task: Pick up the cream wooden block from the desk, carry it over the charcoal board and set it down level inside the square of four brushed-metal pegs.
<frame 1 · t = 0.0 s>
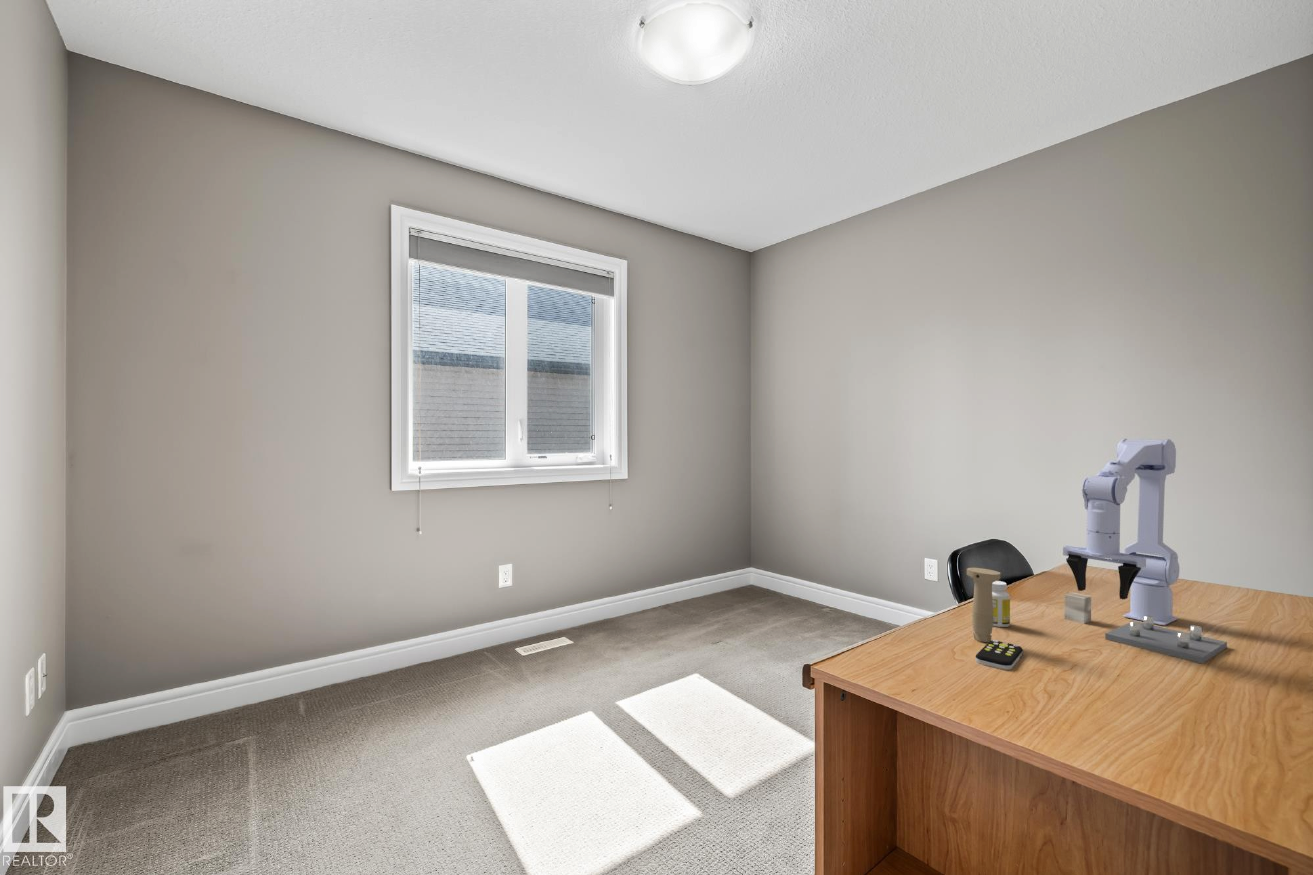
hand: (1102, 594, 126), 10 cm above the table, tool pointing down, fingers open, 7 cm apart
handle: (982, 641, 126), on the table
supplement bottle: (996, 624, 137), on the table
peg board: (1164, 643, 125), on the table
cream block: (1077, 620, 141), on the table
remote control: (999, 660, 116), on the table
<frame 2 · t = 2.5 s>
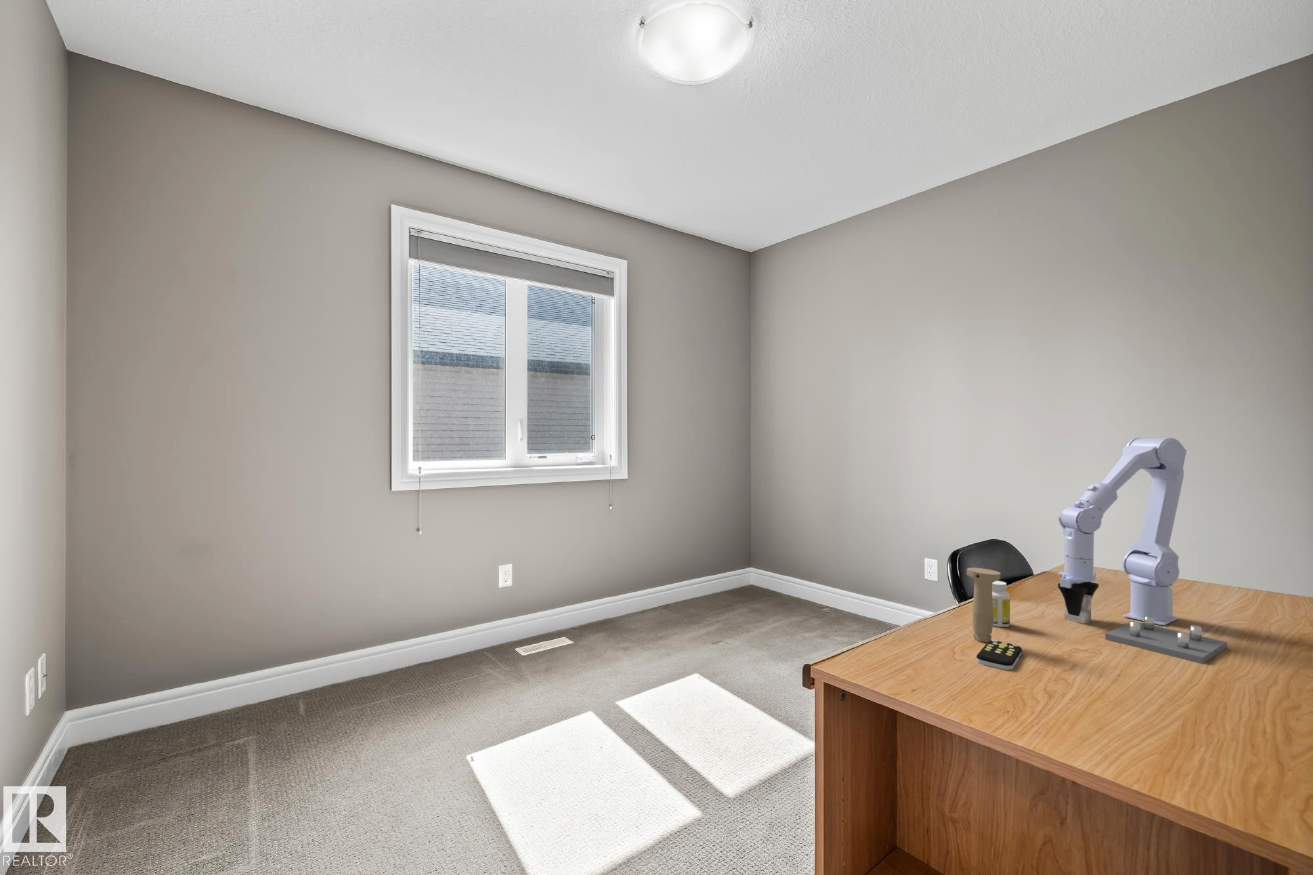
hand: (1077, 613, 141), 2 cm above the table, tool pointing down, fingers closed on cream block, 4 cm apart
cream block: (1077, 620, 141), on the table, touching gripper
everything else where it was.
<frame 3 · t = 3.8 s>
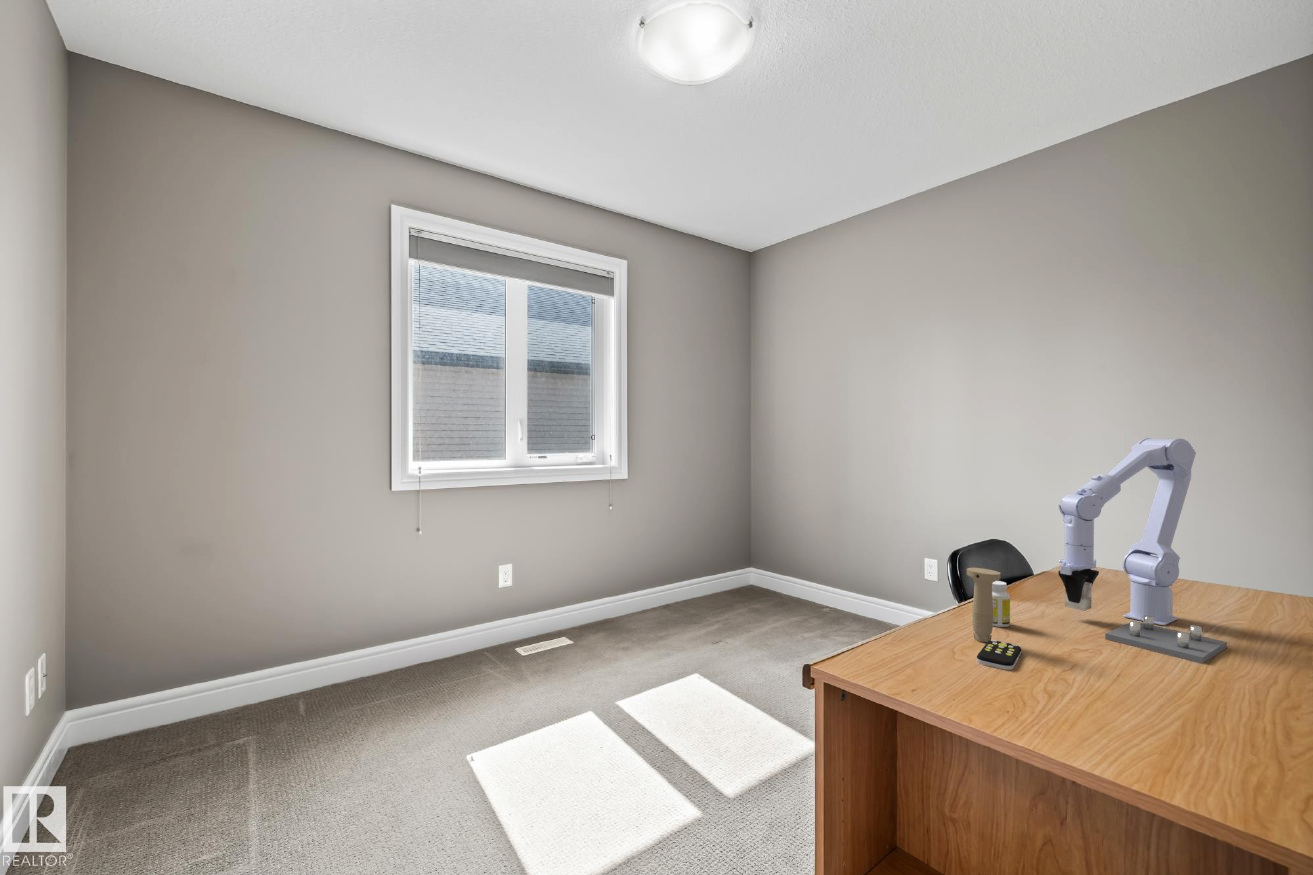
hand: (1078, 600, 141), 5 cm above the table, tool pointing down, fingers closed on cream block, 4 cm apart
cream block: (1078, 607, 141), point 3 cm above the table, touching gripper
everything else where it was.
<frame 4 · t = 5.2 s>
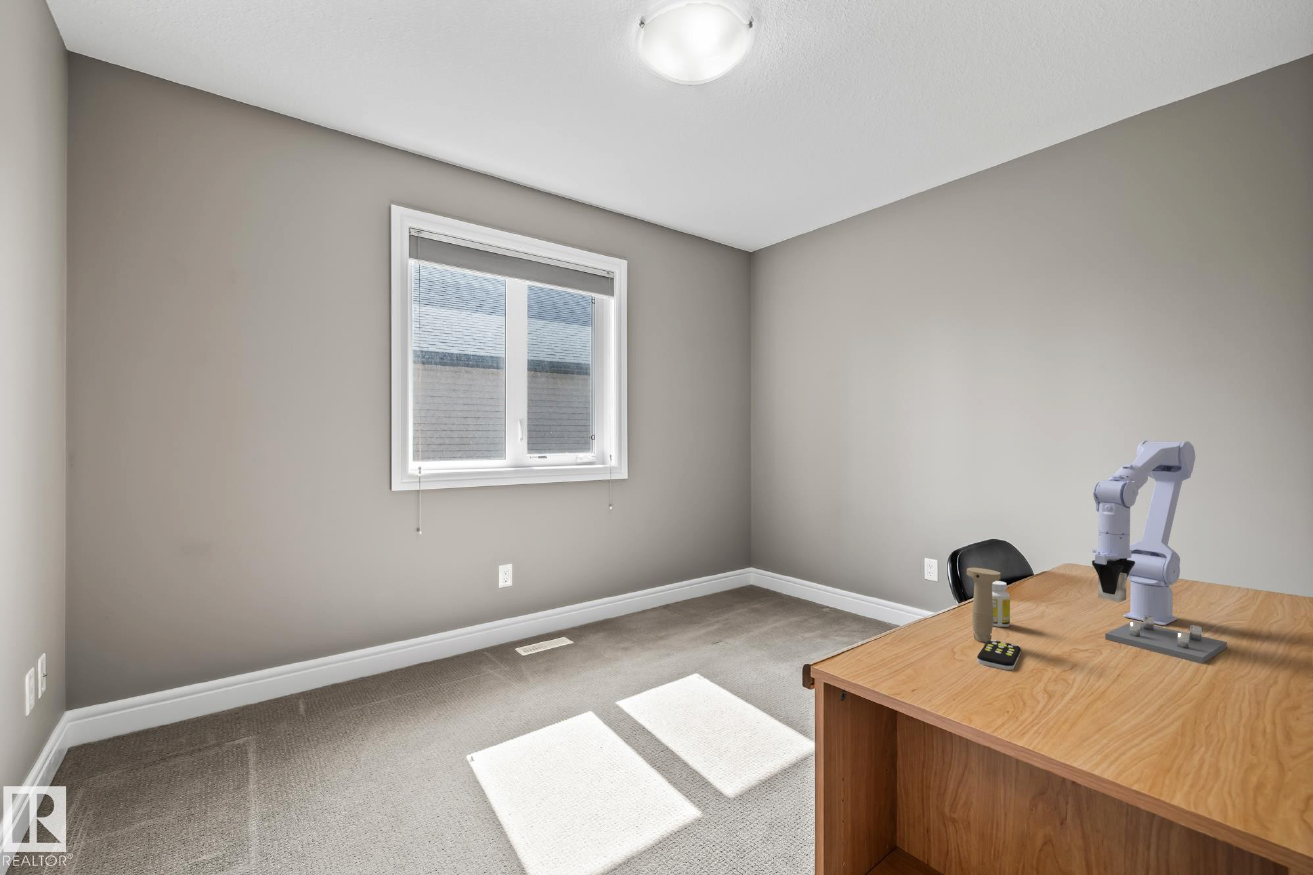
hand: (1113, 591, 134), 9 cm above the table, tool pointing down, fingers closed on cream block, 4 cm apart
cream block: (1112, 598, 134), point 7 cm above the table, touching gripper
everything else where it was.
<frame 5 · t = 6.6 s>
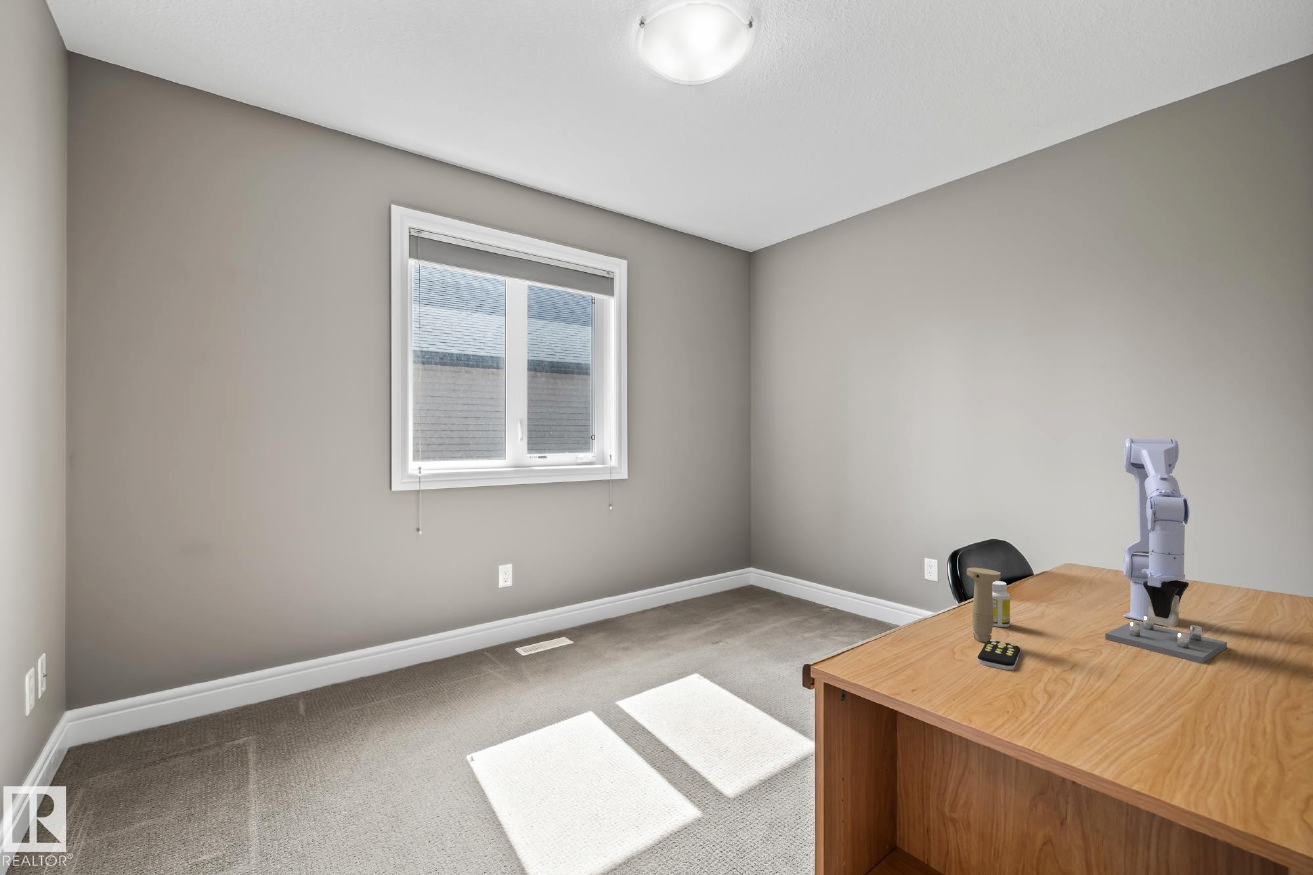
hand: (1165, 615, 125), 6 cm above the table, tool pointing down, fingers closed on cream block, 4 cm apart
cream block: (1163, 622, 125), point 4 cm above the table, touching gripper
everything else where it was.
when the fingers open (4 cm above the table, at t = 7.8 s): cream block drops 1 cm, resting on peg board.
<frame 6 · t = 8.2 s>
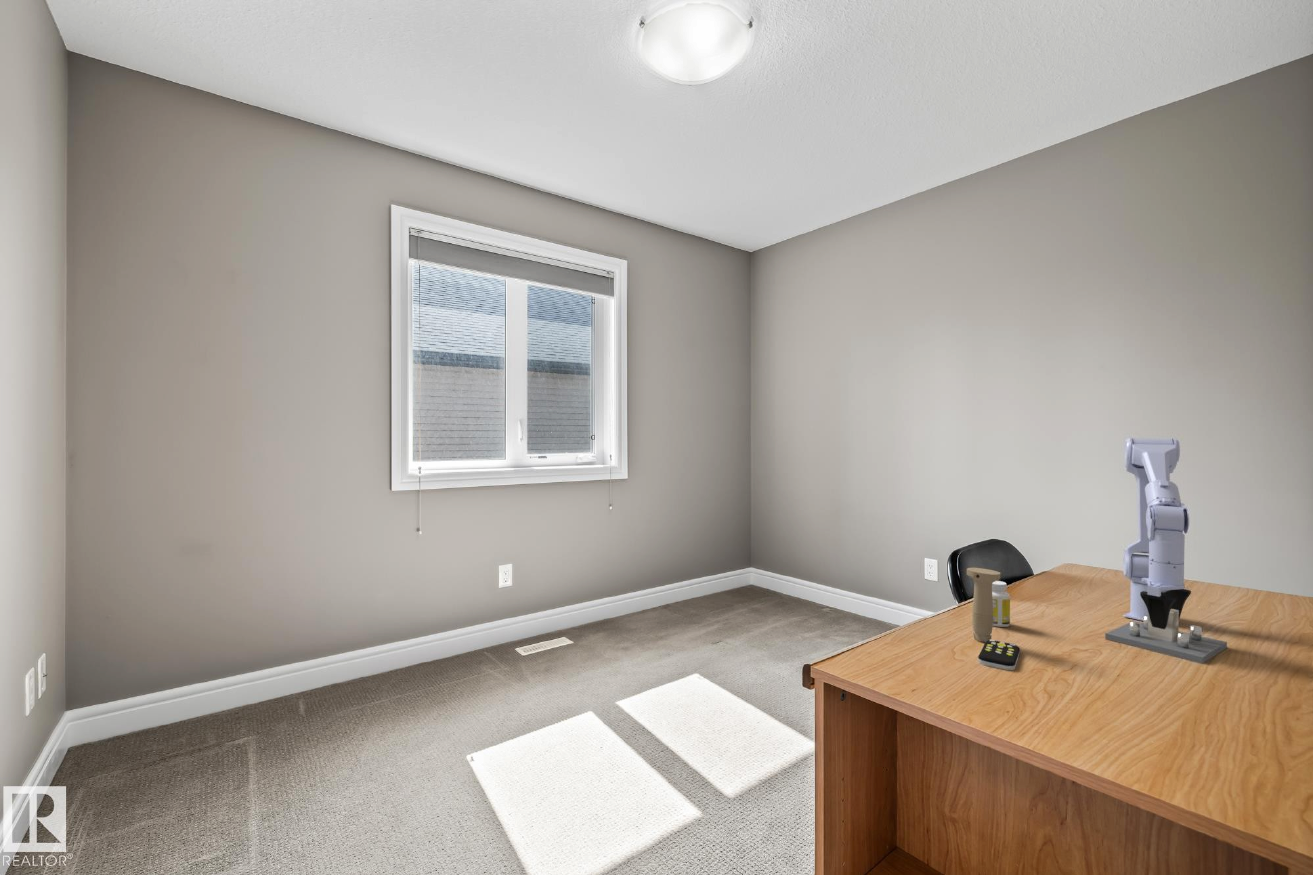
hand: (1165, 624, 125), 4 cm above the table, tool pointing down, fingers open, 7 cm apart
cream block: (1163, 637, 126), point 1 cm above the table, touching peg board
everything else where it was.
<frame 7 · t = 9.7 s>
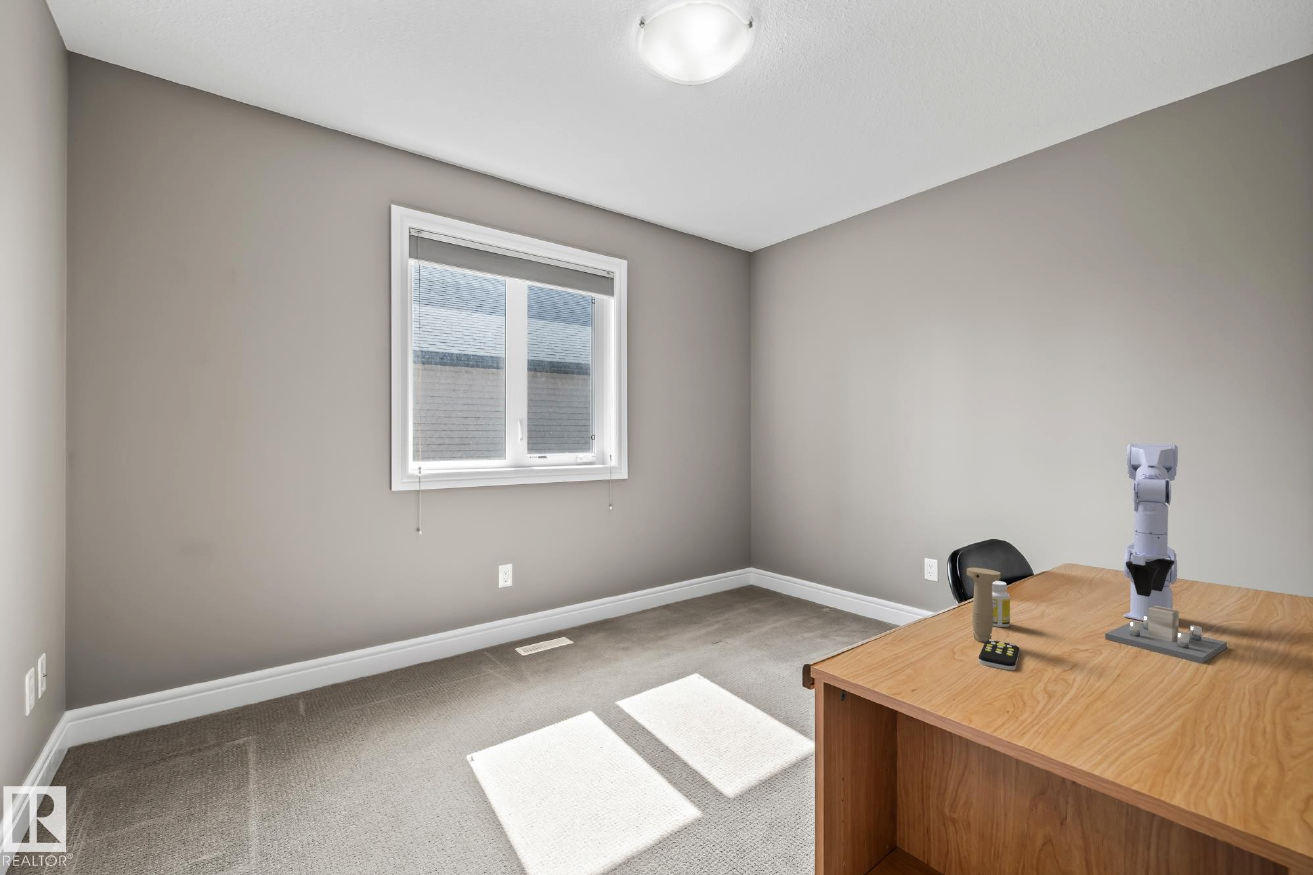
hand: (1149, 593, 131), 9 cm above the table, tool pointing down, fingers open, 7 cm apart
nothing on the table moved.
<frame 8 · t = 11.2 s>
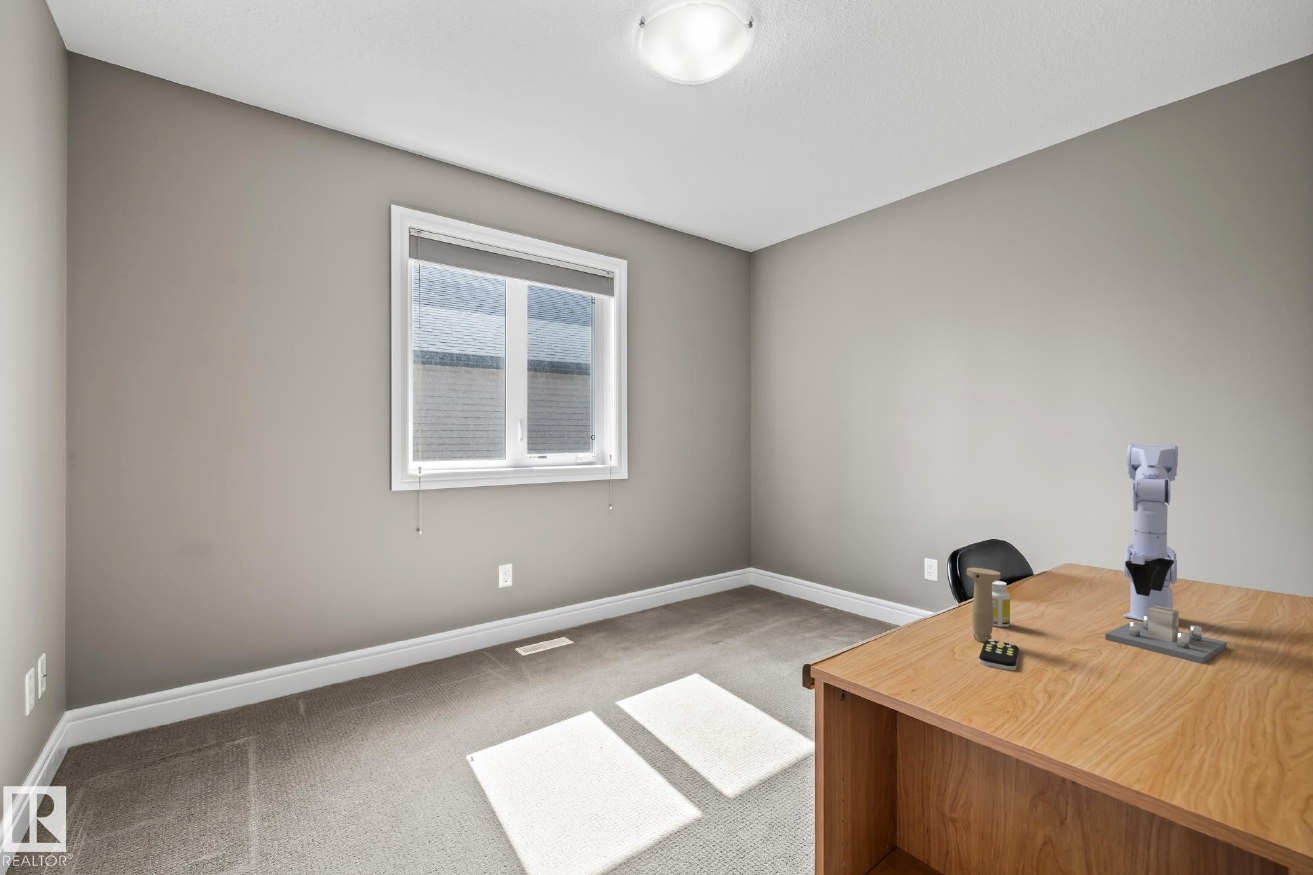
hand: (1149, 592, 131), 9 cm above the table, tool pointing down, fingers open, 7 cm apart
nothing on the table moved.
at the end: cream block 0.3 cm off-centre on the peg board, point 1.2 cm above the peg board's base; cream block tilted 0°; the gripper is holding nothing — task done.
